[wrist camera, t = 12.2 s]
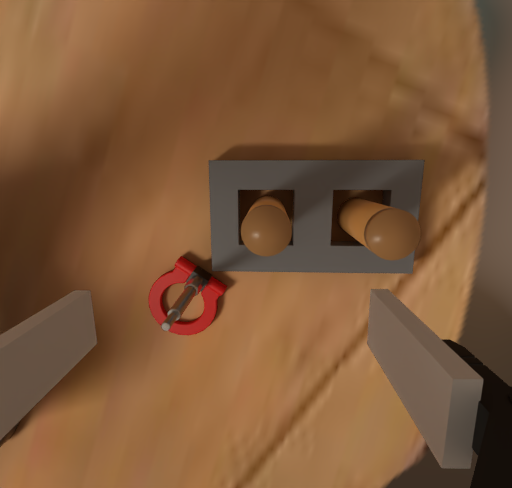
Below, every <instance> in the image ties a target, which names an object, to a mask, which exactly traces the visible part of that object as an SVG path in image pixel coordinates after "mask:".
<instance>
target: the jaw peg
mask: <svg viewBox="0 0 512 488" xmlns="http://www.w3.org/2000/svg"><path fill="white" fill-rule="evenodd" d="M291 236H292V227H291V223H290V220H289V218H288V216H287V213H286V211H285V208H284V206H283V204H282V203H281V201H280V200H279V199H277V198H275V197H273V196H263V197H260V198H258V199H257V200H256V201H255V202H254V203H253V205H252V206H251V208H250V210H249V211H248V213H247V215H246V217H245V218H244V220H243V222H242V226H241V237H242V240H243V242H244V244H245V246H246V247H247V248H248V249H249V250H250V251H251V252H253V253H255V254H257V255H260V256H273V255H276V254H278V253H280V252H282V251H283V250H284V249H285V248H286V247H287V245H288V244H289V242H290V240H291Z"/></svg>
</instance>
